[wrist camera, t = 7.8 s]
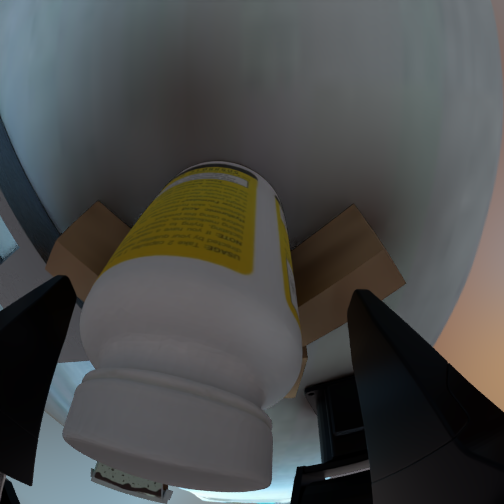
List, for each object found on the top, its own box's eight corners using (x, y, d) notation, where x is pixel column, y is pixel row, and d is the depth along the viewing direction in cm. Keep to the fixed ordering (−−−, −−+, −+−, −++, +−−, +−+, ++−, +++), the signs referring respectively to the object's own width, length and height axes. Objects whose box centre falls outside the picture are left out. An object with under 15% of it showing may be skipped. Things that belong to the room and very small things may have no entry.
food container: (125, 438, 33) (114, 489, 25) (103, 423, 30) (88, 479, 21) (194, 448, 31) (187, 507, 23) (176, 434, 28) (165, 503, 20)
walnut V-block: (338, 347, 16) (348, 394, 13) (122, 336, 16) (105, 378, 14) (382, 206, 11) (418, 250, 8) (75, 202, 11) (33, 239, 8)
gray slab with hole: (135, 332, 16) (126, 356, 14) (63, 345, 18) (54, 362, 16) (-10, 87, 7) (-35, 94, 5) (-52, 168, 9) (-69, 179, 7)
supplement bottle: (136, 217, 12) (15, 419, 3) (220, 130, 10) (48, 379, 1) (221, 289, 14) (191, 494, 6) (310, 226, 12) (368, 477, 3)
